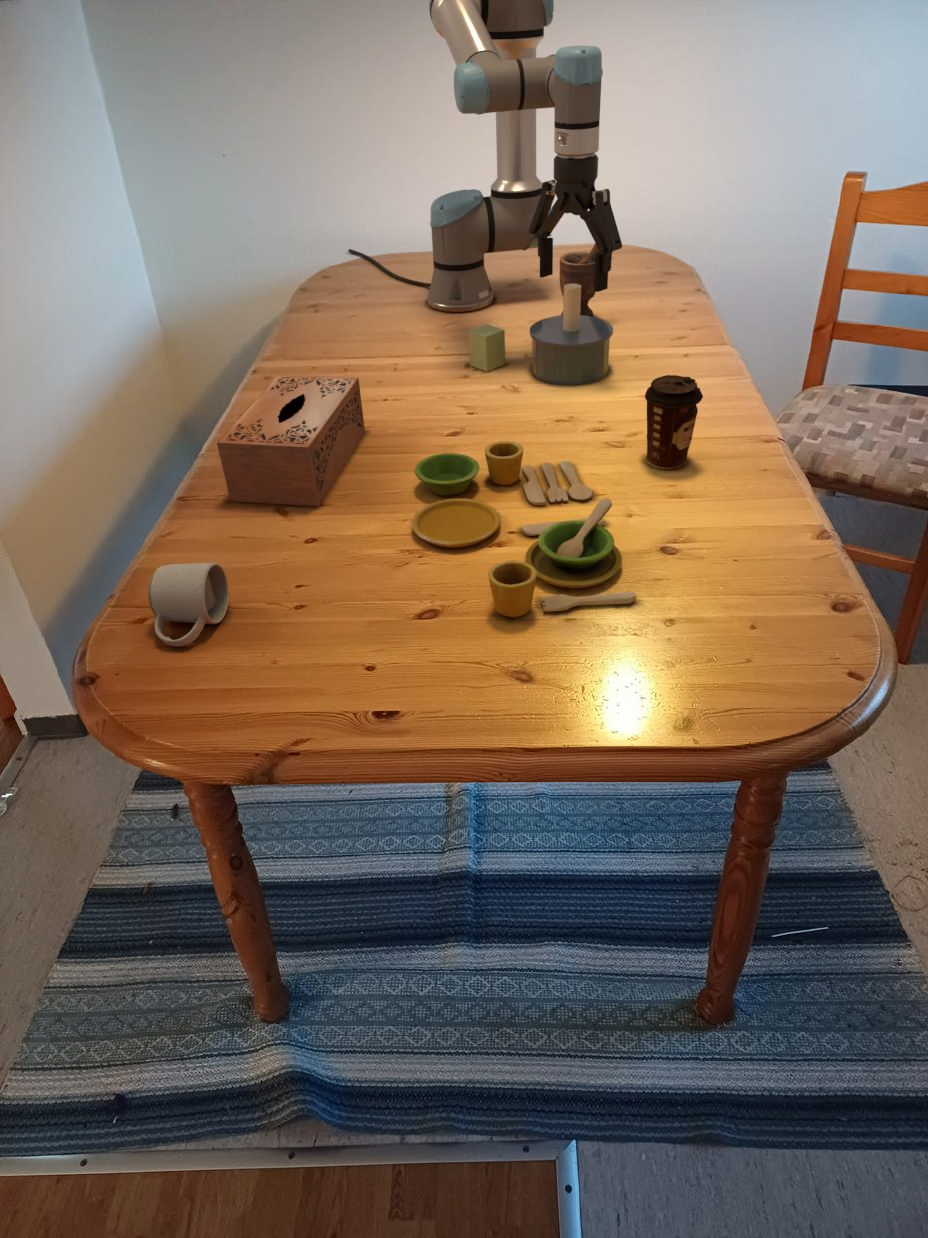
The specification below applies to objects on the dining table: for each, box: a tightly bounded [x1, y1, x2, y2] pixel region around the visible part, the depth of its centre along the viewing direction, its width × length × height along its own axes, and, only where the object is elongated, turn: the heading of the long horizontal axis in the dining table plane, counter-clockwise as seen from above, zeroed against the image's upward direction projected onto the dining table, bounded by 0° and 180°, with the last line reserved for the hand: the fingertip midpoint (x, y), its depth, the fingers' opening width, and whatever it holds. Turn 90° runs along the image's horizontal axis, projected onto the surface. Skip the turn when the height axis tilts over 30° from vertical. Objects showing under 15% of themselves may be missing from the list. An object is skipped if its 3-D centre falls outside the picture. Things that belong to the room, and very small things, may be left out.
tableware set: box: [411, 440, 637, 618], centre depth 126 cm, size 41×28×6 cm
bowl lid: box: [529, 284, 614, 347], centre depth 168 cm, size 16×16×9 cm
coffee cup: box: [644, 374, 704, 470], centre depth 140 cm, size 9×8×13 cm
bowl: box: [531, 337, 611, 386], centre depth 173 cm, size 15×15×8 cm
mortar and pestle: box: [558, 242, 605, 317], centre depth 191 cm, size 12×9×20 cm
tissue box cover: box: [216, 374, 366, 507], centre depth 145 cm, size 26×14×10 cm, turn 169°
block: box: [468, 323, 506, 373], centre depth 177 cm, size 5×5×7 cm
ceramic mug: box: [146, 561, 230, 648], centre depth 112 cm, size 11×8×8 cm
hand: (572, 282), depth 165 cm, fingers open, 13 cm apart
